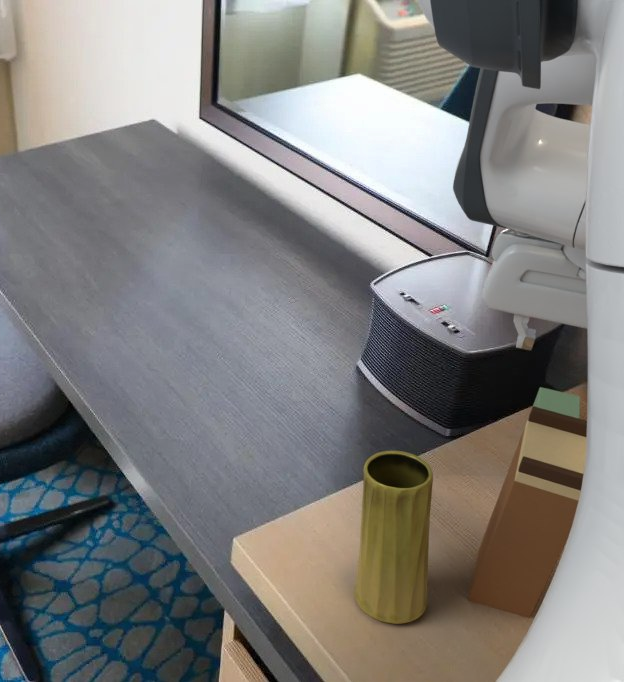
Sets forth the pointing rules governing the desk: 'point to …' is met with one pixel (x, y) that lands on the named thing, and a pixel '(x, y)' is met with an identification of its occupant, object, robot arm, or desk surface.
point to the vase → (394, 537)
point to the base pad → (531, 514)
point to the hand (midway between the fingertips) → (573, 356)
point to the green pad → (558, 402)
